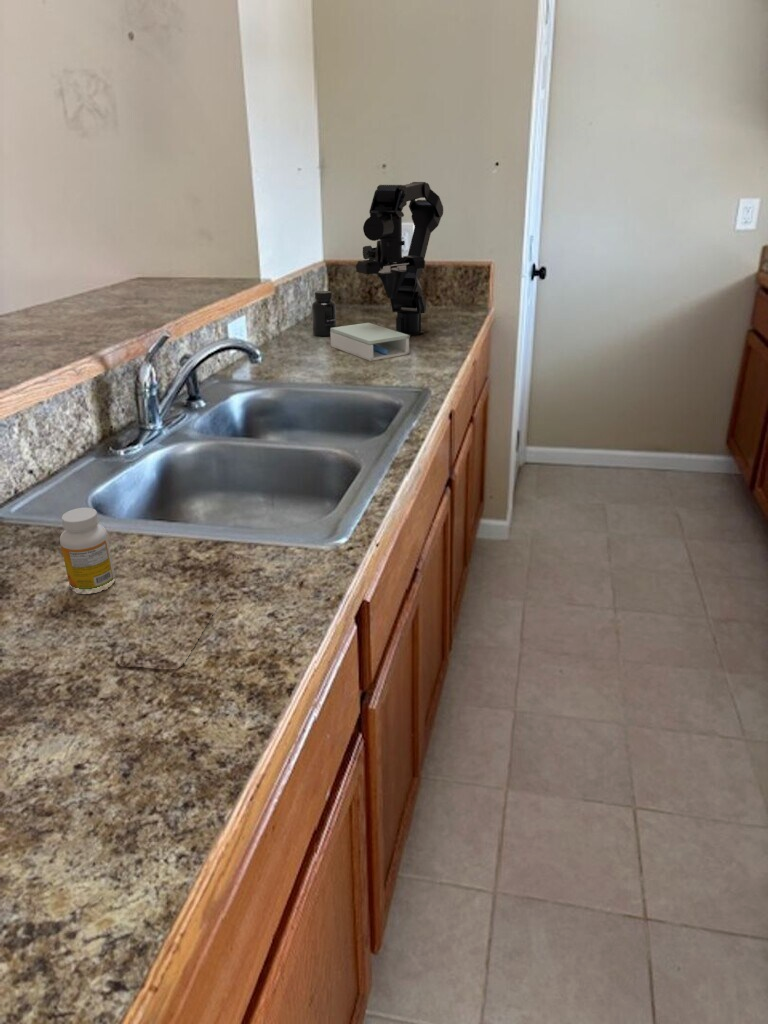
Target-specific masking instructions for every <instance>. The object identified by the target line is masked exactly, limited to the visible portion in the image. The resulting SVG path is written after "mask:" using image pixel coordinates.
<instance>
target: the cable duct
mask: <svg viewBox="0 0 768 1024" xmlns="http://www.w3.org/2000/svg"><path fill="white" fill-rule="evenodd" d="M329 337H330V346H331V347H332V348H335V349H338V350H340V351H342V352H345V353H348V354H351V355H354V356H356V357H359V358H360V359H363V360H366V361H369V362H372V361H378V360H379V361H380V360H384V359H389V358H395V357H399V356H406V355H409V354H410V338H407V339H401V340H394V341H388V342H382V343H375V344H367V343H364V342H361V341H358V340H355V339H352V338H349V337H347V336H344V335H341V334H338V333H335V332H332V331H330V336H329Z"/></svg>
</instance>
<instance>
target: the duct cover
mask: <svg viewBox="0 0 768 1024" xmlns="http://www.w3.org/2000/svg"><path fill="white" fill-rule="evenodd" d="M331 331H332V332H335V333H338V334H341V335H344V336H347V337H349V338H352V339H355V340H358V341H361V342H364V343H367V344H375V343H382V342H388V341H394V340H401V339H407V338H408V339H410V337H411V336H410V335H407V334H404V333H401V332H397V331H396V330H394V329H391V328H387V327H384V326H381V325H377V324H374V323H371V322H365V323H357V324H349V325H341V326H336V327H334V328H331Z"/></svg>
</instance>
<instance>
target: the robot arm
mask: <svg viewBox="0 0 768 1024" xmlns="http://www.w3.org/2000/svg"><path fill="white" fill-rule="evenodd" d="M371 201H372V202H371V204H370V208H369V211H368V212H369V217H368V218H367V219H366V220H365V222H364V223H363V227H362V232H363V233H364V236H365V237H366V238H367V240H369V241H373V242H376V246H375V247H372V245H365V246H363V247H362V256H363V259H364V260H358V261H357V263H356V265H355V272H356V273H360V274H365V275H374V274H375V275H377V276H378V277H379V279H380V281H381V283H382V285H383V288H384V291H385V293H386V297H387V298H388V299H390V305H391V309H392V313H396V316H397V317H396V318H395V331H397V332H401V333H404V334H407V335H410V337H411V336H416V335H423V334H425V331H422V314H425V313H426V310H427V302H426V300H425V297H424V295H423V287H422V285H421V281H420V278H421V275H422V271H423V270H422V269H425V268H426V259H425V258H426V254H427V250H428V245H429V242H430V238H431V234H432V233H433V232H434V230H436V229H437V228H438V226H439V225H440V222H441V219H442V217H443V216H444V215H443V214H444V206H443V202H442V200H441V198H440V196H439V195H438V194H437V193H436V192H435V191H433V190H432V189H431V186H430V184H429V183H428V182H426V181H412V182H410V183H406V184H379V185H378V186H377V187H376V189H375V190H374V193H373V198H372V200H371ZM408 202H409V204H408V208H409V211H410V213H411V220H412V223H413V226H414V229H413V232H412V237H411V240H410V244H409V249H408V254H407V255H404V256H403V252H402V251H403V248H402V247H403V246H405V244H406V243H405V240H403V238H402V237H403V235H402V233H403V229H402V222H403V221H402V218H403V217H404V216H405V214H404V212H403V210H404V207H406V206H407V203H408Z"/></svg>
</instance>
